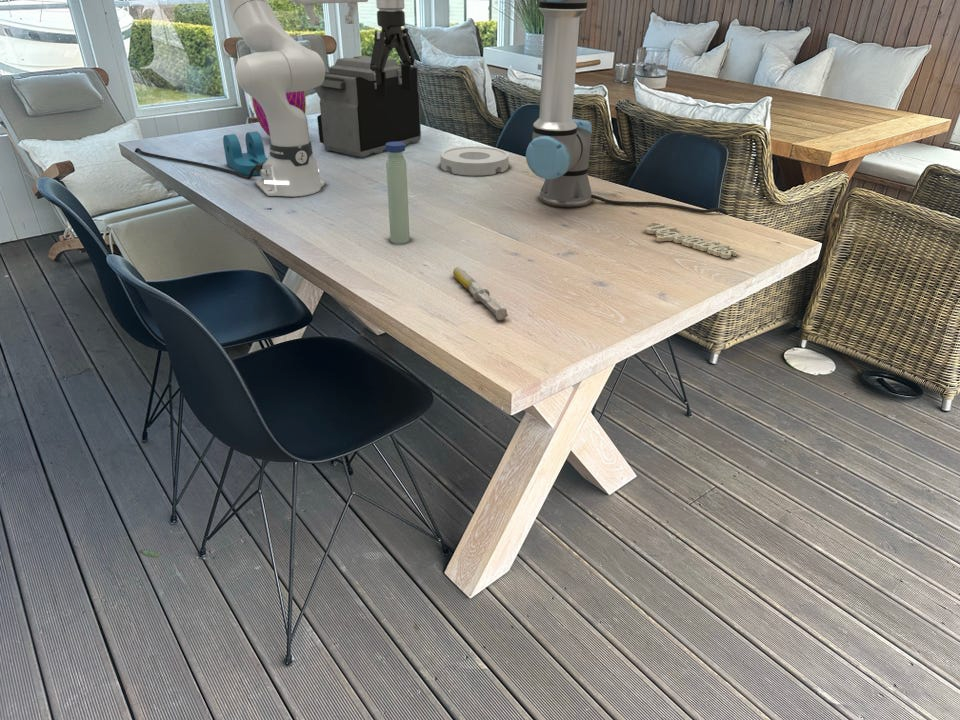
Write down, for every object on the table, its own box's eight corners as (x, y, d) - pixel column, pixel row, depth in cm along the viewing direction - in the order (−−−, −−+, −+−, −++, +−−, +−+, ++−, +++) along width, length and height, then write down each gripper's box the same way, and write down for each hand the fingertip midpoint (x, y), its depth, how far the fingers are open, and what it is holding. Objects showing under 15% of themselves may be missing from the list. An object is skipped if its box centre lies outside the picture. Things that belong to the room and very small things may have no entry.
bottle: (397, 235, 176) (392, 142, 164) (413, 239, 174) (409, 144, 162) (386, 241, 173) (380, 146, 161) (402, 245, 171) (398, 148, 159)
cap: (392, 147, 165) (392, 140, 164) (408, 149, 163) (408, 142, 162) (382, 151, 161) (381, 144, 160) (398, 153, 159) (398, 146, 159)
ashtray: (443, 157, 245) (443, 145, 243) (508, 158, 244) (508, 146, 242) (437, 174, 225) (437, 162, 223) (508, 176, 224) (508, 163, 222)
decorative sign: (632, 229, 179) (655, 221, 185) (631, 232, 179) (654, 224, 185) (722, 258, 162) (744, 248, 168) (721, 262, 162) (743, 252, 168)
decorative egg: (293, 132, 276) (283, 50, 261) (319, 140, 264) (310, 56, 249) (249, 139, 265) (236, 54, 250) (273, 148, 253) (261, 60, 238)
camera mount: (227, 164, 233) (221, 132, 227) (257, 160, 238) (252, 129, 233) (244, 176, 220) (239, 143, 215) (276, 172, 225) (271, 139, 220)
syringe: (449, 274, 155) (449, 263, 153) (465, 272, 156) (464, 260, 154) (490, 323, 135) (491, 310, 133) (508, 319, 136) (508, 307, 134)
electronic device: (383, 133, 276) (378, 52, 261) (425, 141, 265) (422, 56, 250) (314, 150, 251) (304, 61, 235) (358, 160, 240) (350, 67, 224)
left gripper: (358, -42, 166) (362, 21, 173) (280, -43, 154) (288, 25, 161) (372, -42, 162) (376, 23, 169) (293, -43, 150) (301, 27, 157)
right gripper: (402, 7, 197) (405, 85, 208) (352, 12, 178) (359, 98, 188) (425, 8, 194) (427, 87, 205) (377, 13, 175) (382, 101, 186)
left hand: (332, 24), depth 165 cm, fingers open, 8 cm apart
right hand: (394, 93), depth 197 cm, fingers open, 13 cm apart
